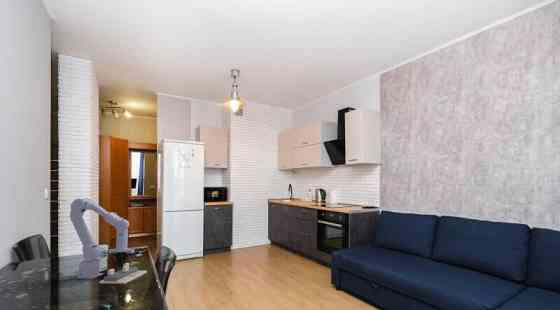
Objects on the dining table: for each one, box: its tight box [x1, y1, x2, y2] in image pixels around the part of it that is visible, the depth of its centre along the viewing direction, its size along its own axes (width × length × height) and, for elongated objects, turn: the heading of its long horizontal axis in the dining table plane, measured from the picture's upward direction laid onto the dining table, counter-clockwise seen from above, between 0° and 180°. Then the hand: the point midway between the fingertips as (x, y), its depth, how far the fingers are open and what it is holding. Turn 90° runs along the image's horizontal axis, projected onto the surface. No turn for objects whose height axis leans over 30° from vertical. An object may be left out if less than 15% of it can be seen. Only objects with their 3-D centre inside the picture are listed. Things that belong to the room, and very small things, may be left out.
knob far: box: [122, 262, 130, 268], centre depth 158 cm, size 2×3×2 cm, turn 173°
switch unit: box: [99, 266, 148, 285], centre depth 151 cm, size 14×19×3 cm
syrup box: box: [98, 244, 109, 273], centre depth 167 cm, size 6×6×14 cm
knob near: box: [107, 268, 115, 276], centre depth 146 cm, size 2×3×2 cm, turn 173°
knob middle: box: [122, 265, 130, 272], centre depth 151 cm, size 2×3×2 cm, turn 173°
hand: (120, 266), depth 158 cm, fingers closed
